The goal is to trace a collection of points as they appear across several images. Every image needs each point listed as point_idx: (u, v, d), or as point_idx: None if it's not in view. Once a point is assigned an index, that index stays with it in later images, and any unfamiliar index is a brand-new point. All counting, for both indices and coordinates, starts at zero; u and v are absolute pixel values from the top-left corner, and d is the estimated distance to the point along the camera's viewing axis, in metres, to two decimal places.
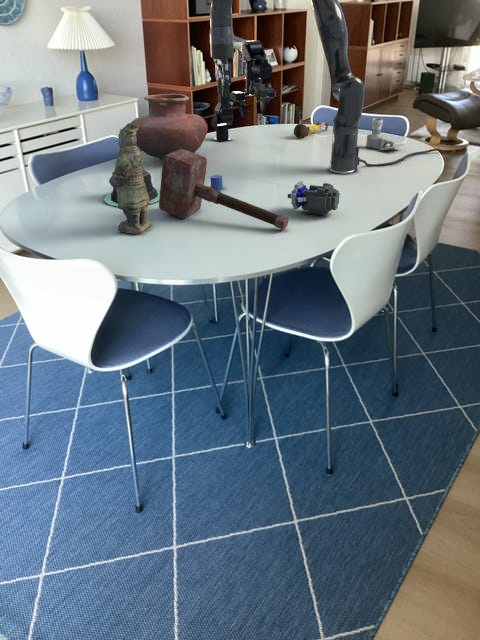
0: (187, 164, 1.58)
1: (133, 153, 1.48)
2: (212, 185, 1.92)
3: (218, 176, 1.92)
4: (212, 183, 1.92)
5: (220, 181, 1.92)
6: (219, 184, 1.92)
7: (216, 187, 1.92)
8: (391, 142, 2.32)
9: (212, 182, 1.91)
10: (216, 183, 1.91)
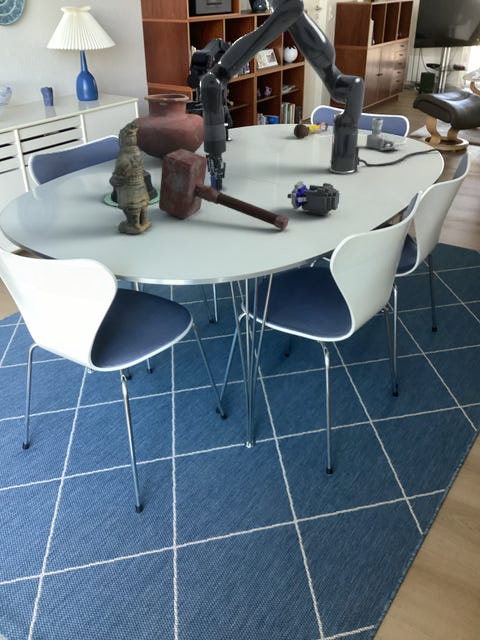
0: (187, 164, 1.58)
1: (133, 153, 1.48)
2: (212, 185, 1.92)
3: None
4: (212, 183, 1.92)
5: None
6: None
7: None
8: (391, 142, 2.32)
9: (212, 182, 1.91)
10: None
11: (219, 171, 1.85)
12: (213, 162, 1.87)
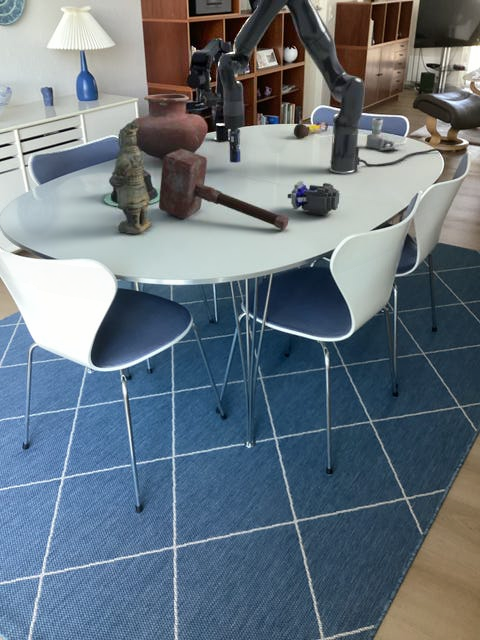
0: (187, 164, 1.58)
1: (133, 153, 1.48)
2: (230, 157, 2.10)
3: None
4: (230, 155, 2.10)
5: (237, 154, 2.08)
6: None
7: None
8: (391, 142, 2.32)
9: (230, 154, 2.09)
10: None
11: (230, 144, 2.03)
12: (229, 136, 2.05)
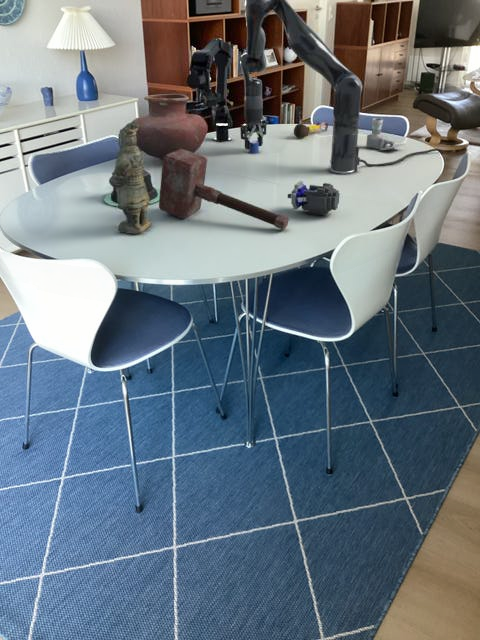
0: (187, 164, 1.58)
1: (133, 153, 1.48)
2: None
3: (254, 142, 2.35)
4: None
5: (252, 146, 2.34)
6: (251, 148, 2.35)
7: (249, 150, 2.36)
8: (391, 142, 2.32)
9: None
10: None
11: (241, 131, 2.29)
12: None
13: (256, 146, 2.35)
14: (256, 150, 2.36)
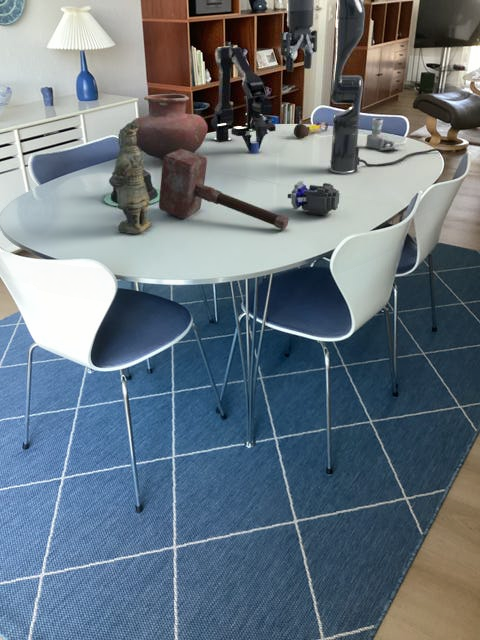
0: (187, 164, 1.58)
1: (133, 153, 1.48)
2: None
3: (254, 142, 2.35)
4: None
5: (252, 146, 2.34)
6: (251, 148, 2.35)
7: None
8: (391, 142, 2.32)
9: None
10: None
11: (282, 43, 1.60)
12: None
13: (256, 146, 2.35)
14: (256, 150, 2.36)
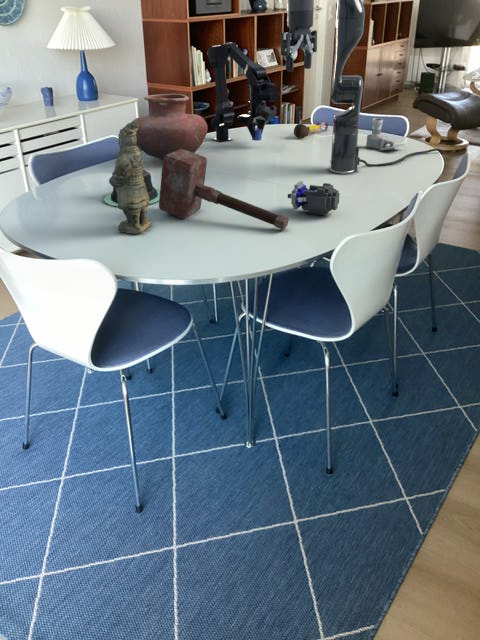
0: (187, 164, 1.58)
1: (133, 153, 1.48)
2: None
3: (257, 129, 2.40)
4: None
5: (257, 133, 2.40)
6: (255, 136, 2.40)
7: None
8: (391, 142, 2.32)
9: None
10: None
11: (282, 43, 1.60)
12: None
13: (260, 133, 2.40)
14: (260, 137, 2.41)
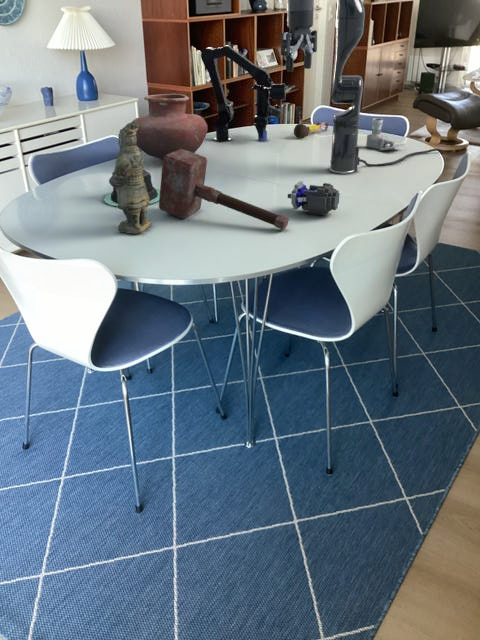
0: (187, 164, 1.58)
1: (133, 153, 1.48)
2: (258, 137, 2.55)
3: (264, 131, 2.54)
4: None
5: (265, 134, 2.53)
6: (264, 137, 2.54)
7: (261, 139, 2.54)
8: (391, 142, 2.32)
9: None
10: None
11: (282, 43, 1.60)
12: None
13: (266, 134, 2.55)
14: (266, 138, 2.55)
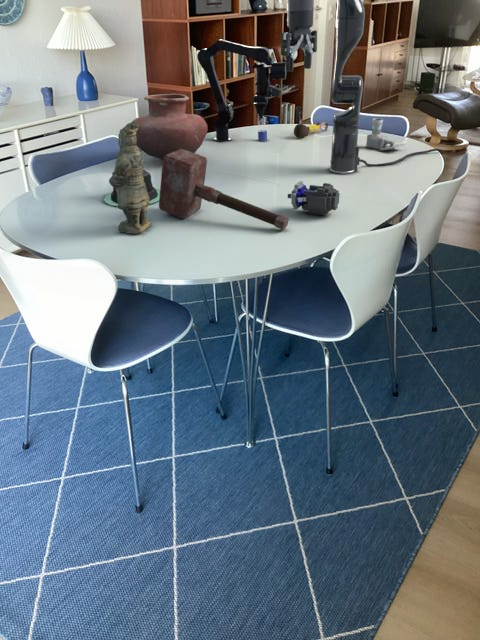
0: (187, 164, 1.58)
1: (133, 153, 1.48)
2: (258, 137, 2.55)
3: (264, 131, 2.54)
4: (259, 136, 2.54)
5: (265, 134, 2.53)
6: (264, 137, 2.54)
7: (261, 139, 2.54)
8: (391, 142, 2.32)
9: (259, 135, 2.54)
10: (262, 135, 2.53)
11: (282, 43, 1.60)
12: None
13: (266, 134, 2.55)
14: (266, 138, 2.55)
